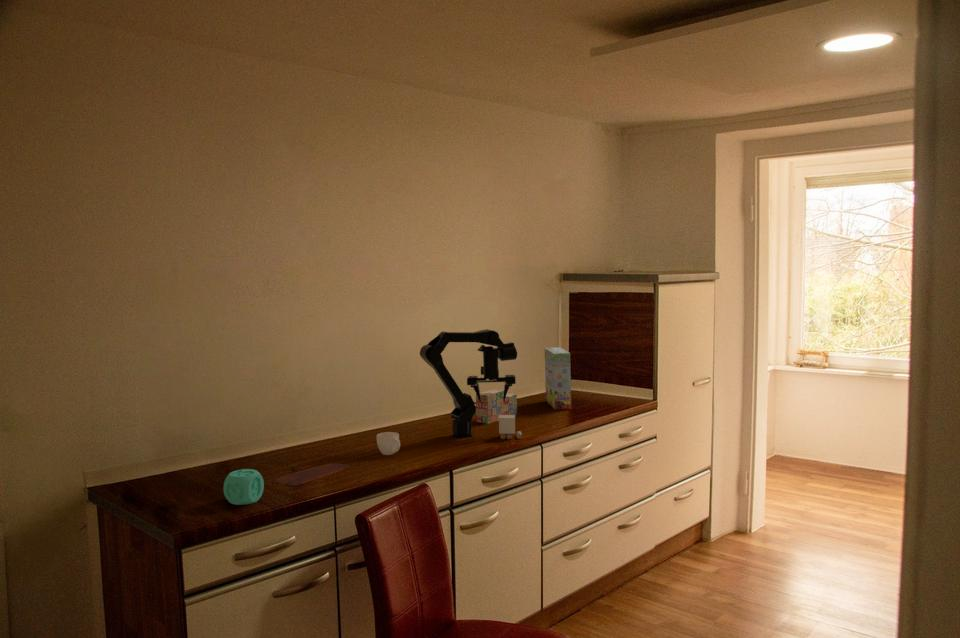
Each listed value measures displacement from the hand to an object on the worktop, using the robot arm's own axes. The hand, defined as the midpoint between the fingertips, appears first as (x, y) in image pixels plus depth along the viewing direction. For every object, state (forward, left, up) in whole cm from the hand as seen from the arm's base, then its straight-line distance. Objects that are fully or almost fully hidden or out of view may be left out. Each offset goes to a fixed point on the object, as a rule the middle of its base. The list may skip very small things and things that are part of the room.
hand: (492, 401), depth 289 cm
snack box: (+57, +24, -12) cm, 63 cm away
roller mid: (0, -10, -12) cm, 16 cm away
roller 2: (+2, -12, -11) cm, 17 cm away
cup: (-48, -3, -12) cm, 49 cm away
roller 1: (-2, -9, -12) cm, 15 cm away
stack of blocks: (+17, +19, -12) cm, 29 cm away
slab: (-1, -10, -10) cm, 14 cm away
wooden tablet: (-79, -9, -13) cm, 80 cm away
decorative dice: (-106, -21, -12) cm, 108 cm away
